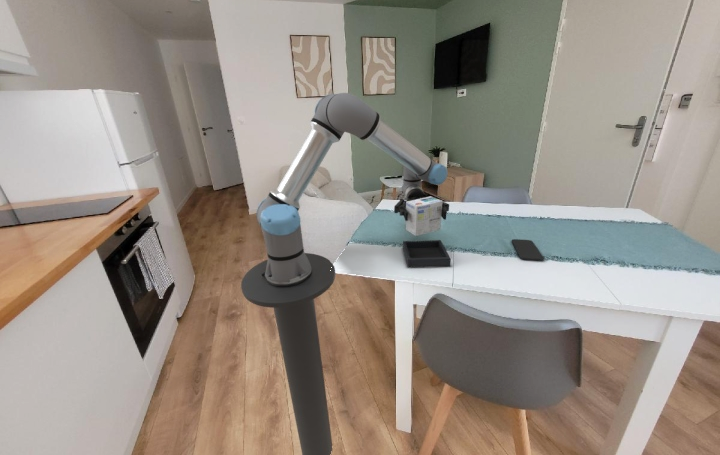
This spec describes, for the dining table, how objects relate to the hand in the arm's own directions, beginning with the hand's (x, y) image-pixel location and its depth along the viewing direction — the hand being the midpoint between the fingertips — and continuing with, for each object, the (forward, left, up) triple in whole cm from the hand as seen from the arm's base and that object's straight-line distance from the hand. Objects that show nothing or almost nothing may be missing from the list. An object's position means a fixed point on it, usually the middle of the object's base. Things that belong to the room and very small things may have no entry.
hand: (425, 216), depth 96 cm
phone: (+39, +6, -17) cm, 43 cm away
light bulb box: (0, +4, -7) cm, 8 cm away
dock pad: (+1, +3, -17) cm, 17 cm away
